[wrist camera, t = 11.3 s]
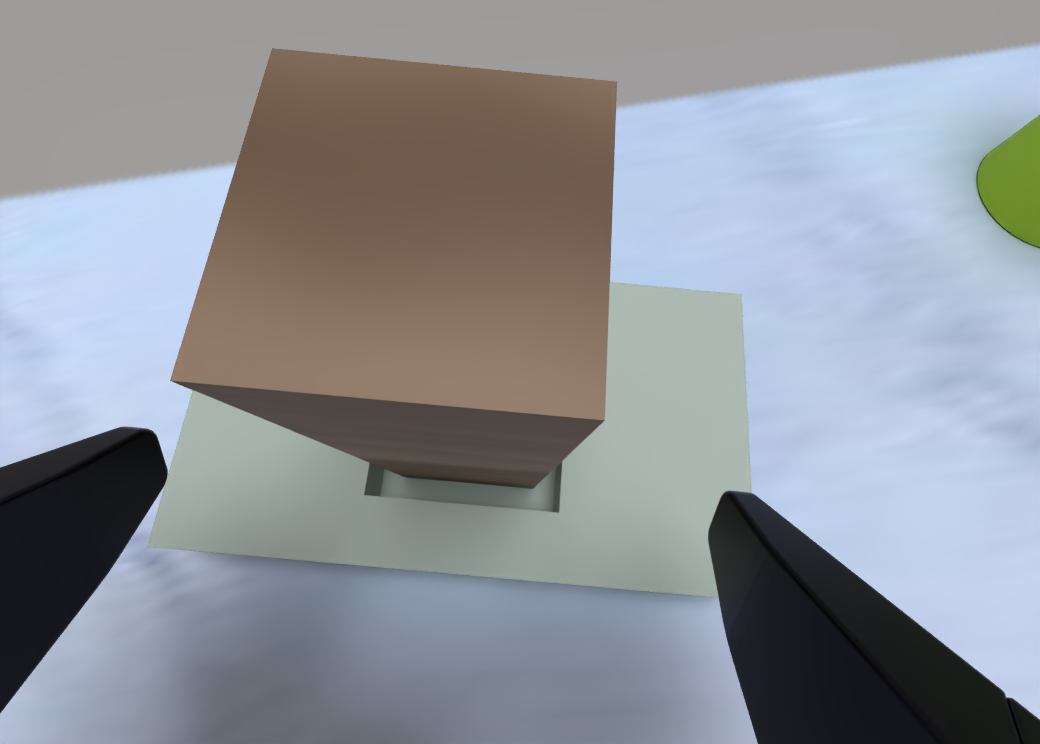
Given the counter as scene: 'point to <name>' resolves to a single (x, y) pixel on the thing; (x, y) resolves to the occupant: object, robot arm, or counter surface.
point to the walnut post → (415, 266)
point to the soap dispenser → (1014, 183)
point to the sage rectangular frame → (500, 509)
